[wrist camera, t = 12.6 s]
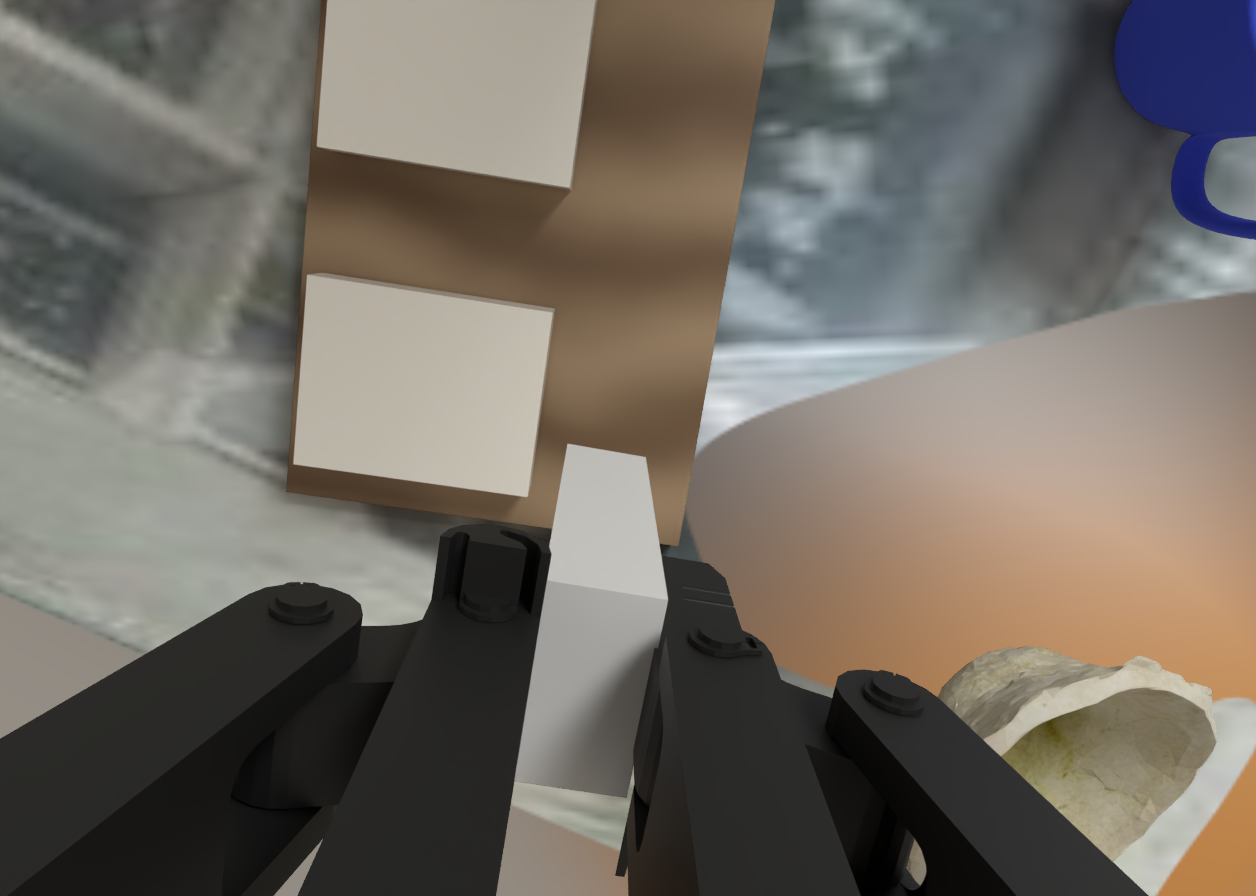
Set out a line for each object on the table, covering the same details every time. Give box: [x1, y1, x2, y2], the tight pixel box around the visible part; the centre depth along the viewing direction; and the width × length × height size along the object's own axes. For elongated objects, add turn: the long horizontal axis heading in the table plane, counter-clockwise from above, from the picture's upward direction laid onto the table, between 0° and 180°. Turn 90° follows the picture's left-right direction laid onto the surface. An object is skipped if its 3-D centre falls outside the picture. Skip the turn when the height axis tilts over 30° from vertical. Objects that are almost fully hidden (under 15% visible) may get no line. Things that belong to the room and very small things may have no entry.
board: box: [286, 0, 775, 546], centre depth 39 cm, size 26×18×1 cm
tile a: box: [317, 0, 597, 190], centre depth 36 cm, size 8×2×10 cm
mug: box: [1114, 0, 1256, 240], centre depth 34 cm, size 8×12×10 cm
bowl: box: [909, 646, 1217, 886], centre depth 41 cm, size 15×14×10 cm
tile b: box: [293, 273, 555, 497], centre depth 39 cm, size 8×2×10 cm
